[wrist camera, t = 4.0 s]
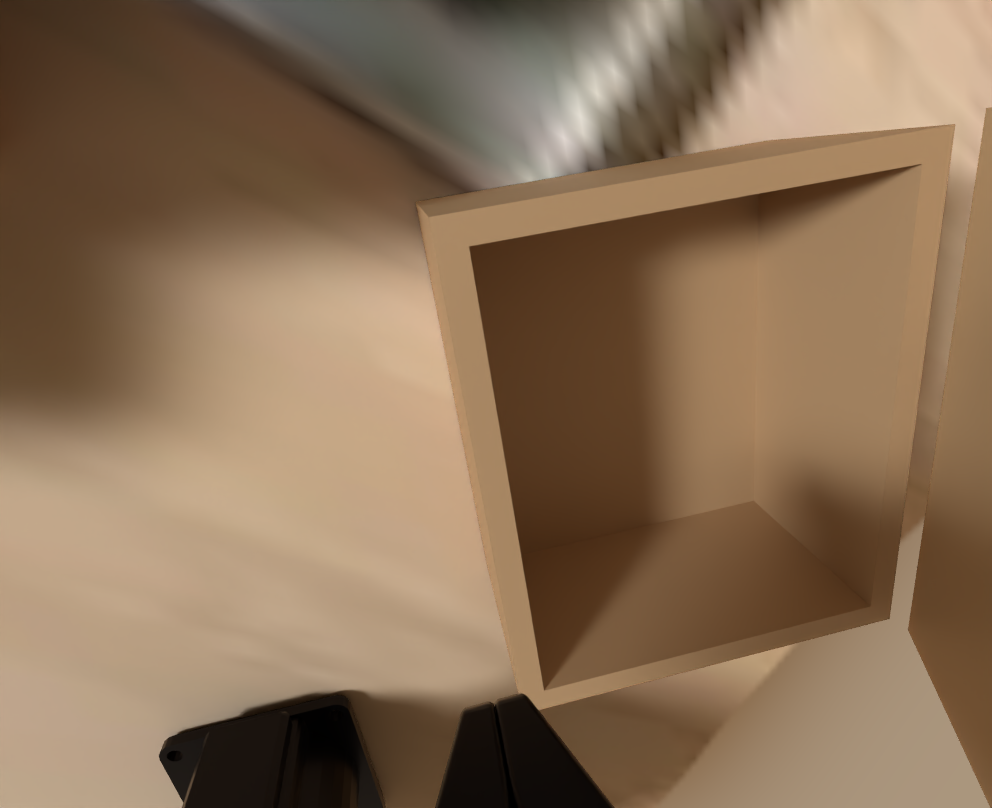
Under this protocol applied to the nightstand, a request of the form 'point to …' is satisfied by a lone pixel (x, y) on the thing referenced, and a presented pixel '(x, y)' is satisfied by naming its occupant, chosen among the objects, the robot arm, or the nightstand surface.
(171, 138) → the nightstand surface
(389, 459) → the nightstand surface
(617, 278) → the carton
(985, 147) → the flap
